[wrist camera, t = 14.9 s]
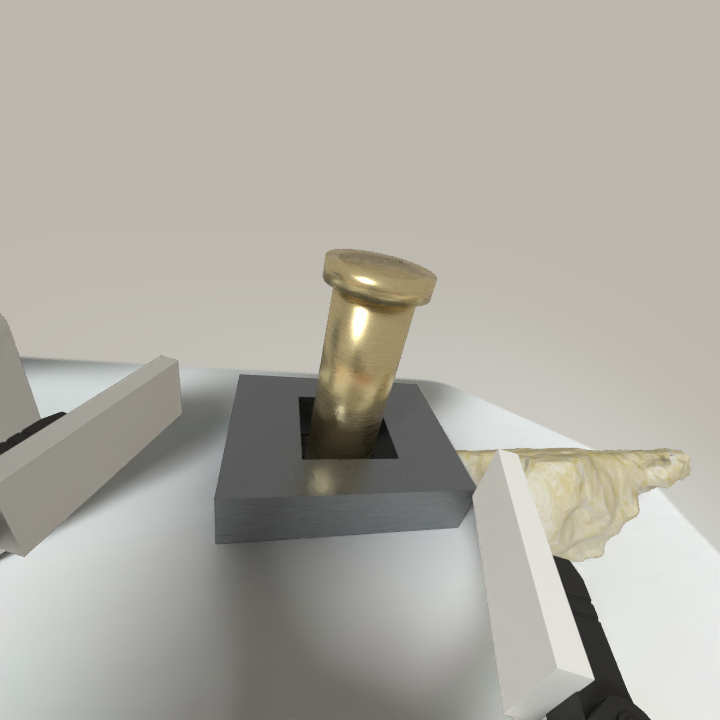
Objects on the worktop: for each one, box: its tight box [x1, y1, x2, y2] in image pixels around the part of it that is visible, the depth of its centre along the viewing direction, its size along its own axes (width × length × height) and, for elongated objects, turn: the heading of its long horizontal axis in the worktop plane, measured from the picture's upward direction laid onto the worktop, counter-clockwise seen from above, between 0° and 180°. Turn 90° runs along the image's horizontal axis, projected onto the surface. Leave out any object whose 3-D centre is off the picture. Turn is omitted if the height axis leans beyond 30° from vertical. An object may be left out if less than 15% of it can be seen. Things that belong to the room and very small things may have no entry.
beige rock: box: [456, 448, 692, 562], centre depth 24 cm, size 15×7×15 cm
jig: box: [214, 374, 477, 544], centre depth 26 cm, size 16×12×4 cm
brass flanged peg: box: [305, 249, 437, 460], centre depth 23 cm, size 6×6×16 cm
